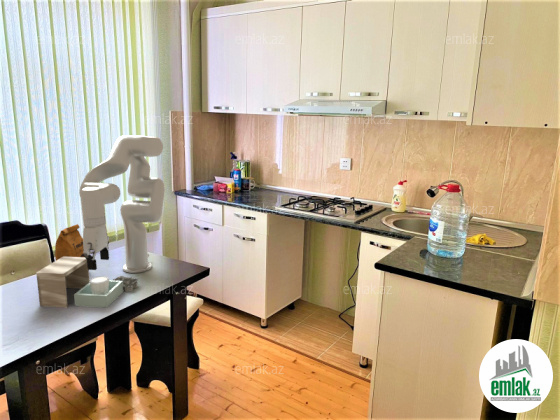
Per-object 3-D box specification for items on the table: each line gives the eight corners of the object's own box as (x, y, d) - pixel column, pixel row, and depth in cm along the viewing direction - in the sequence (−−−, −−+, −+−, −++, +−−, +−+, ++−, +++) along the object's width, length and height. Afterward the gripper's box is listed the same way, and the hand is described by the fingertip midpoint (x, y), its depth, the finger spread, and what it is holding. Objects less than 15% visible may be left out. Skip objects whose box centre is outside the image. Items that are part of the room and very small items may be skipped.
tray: (94, 289, 164) (93, 279, 163) (123, 291, 163) (122, 280, 162) (75, 305, 150) (74, 294, 149) (107, 307, 150) (106, 296, 149)
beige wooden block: (66, 286, 166) (63, 256, 163) (90, 288, 165) (87, 257, 162) (39, 305, 149) (36, 272, 146) (66, 307, 149) (63, 273, 146)
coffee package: (93, 271, 182) (90, 224, 177) (74, 282, 170) (70, 231, 165) (74, 269, 184) (69, 222, 179) (53, 280, 172) (48, 229, 167)
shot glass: (86, 299, 154) (85, 281, 153) (98, 291, 161) (97, 275, 159) (103, 301, 153) (101, 284, 151) (114, 293, 159) (112, 277, 158)
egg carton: (106, 289, 165) (105, 279, 164) (119, 282, 172) (118, 273, 171) (129, 293, 162) (128, 283, 161) (140, 286, 169) (140, 276, 168)
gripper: (96, 214, 158) (100, 255, 163) (71, 227, 142) (76, 273, 146) (115, 214, 158) (118, 256, 163) (92, 228, 141) (97, 274, 146)
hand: (98, 264), depth 154 cm, fingers open, 9 cm apart
